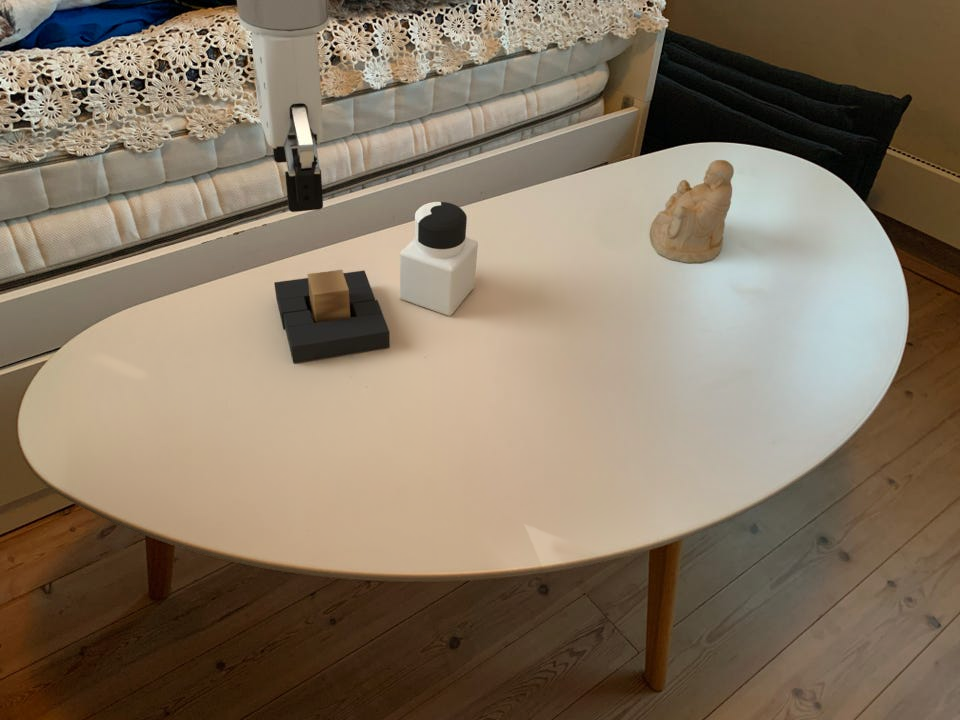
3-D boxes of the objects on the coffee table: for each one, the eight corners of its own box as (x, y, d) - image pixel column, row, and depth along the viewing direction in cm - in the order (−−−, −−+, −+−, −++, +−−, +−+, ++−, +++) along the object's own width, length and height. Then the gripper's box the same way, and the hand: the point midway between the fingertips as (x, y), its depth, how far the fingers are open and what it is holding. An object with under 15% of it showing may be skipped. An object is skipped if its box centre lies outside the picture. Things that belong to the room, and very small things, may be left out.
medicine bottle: (475, 287, 99) (482, 205, 91) (450, 318, 95) (455, 234, 86) (425, 270, 101) (428, 189, 93) (398, 299, 96) (398, 216, 88)
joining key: (317, 335, 90) (313, 294, 86) (311, 314, 93) (307, 273, 89) (351, 330, 92) (348, 289, 88) (344, 309, 94) (342, 269, 90)
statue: (774, 204, 99) (705, 173, 98) (713, 284, 109) (649, 257, 107) (760, 159, 109) (697, 131, 107) (705, 237, 118) (646, 212, 116)
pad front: (293, 363, 87) (291, 347, 85) (285, 329, 91) (283, 313, 89) (389, 347, 90) (389, 331, 88) (377, 315, 94) (377, 299, 92)
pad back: (283, 329, 91) (281, 312, 89) (276, 298, 95) (274, 282, 93) (375, 315, 94) (375, 299, 92) (365, 286, 98) (364, 270, 96)
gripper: (227, -27, 71) (249, 146, 82) (249, 43, 59) (271, 235, 70) (310, -28, 73) (320, 141, 84) (347, 39, 61) (353, 226, 73)
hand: (297, 183), depth 77 cm, fingers open, 9 cm apart
